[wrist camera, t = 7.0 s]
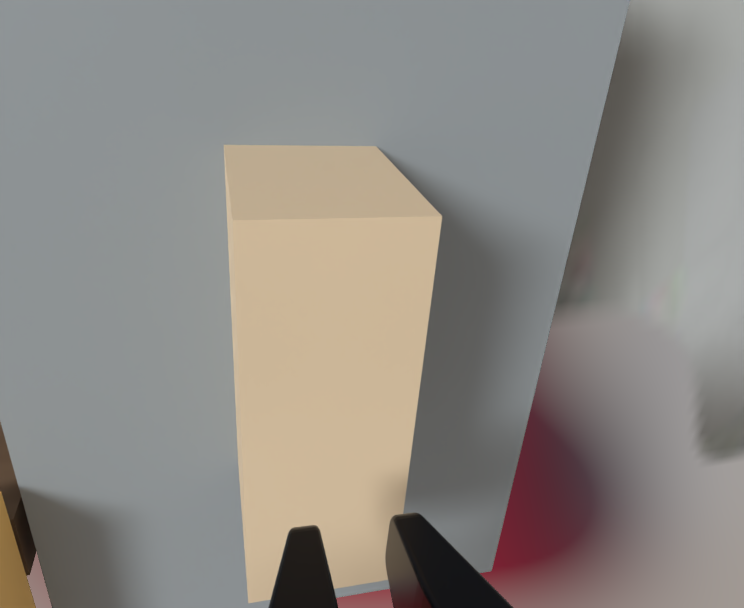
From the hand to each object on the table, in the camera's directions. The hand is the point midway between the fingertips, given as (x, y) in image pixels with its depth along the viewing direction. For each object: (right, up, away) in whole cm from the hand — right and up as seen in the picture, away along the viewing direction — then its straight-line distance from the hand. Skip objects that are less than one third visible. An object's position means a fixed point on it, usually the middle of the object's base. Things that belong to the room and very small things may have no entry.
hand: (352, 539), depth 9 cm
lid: (-3, +3, +6) cm, 7 cm away
